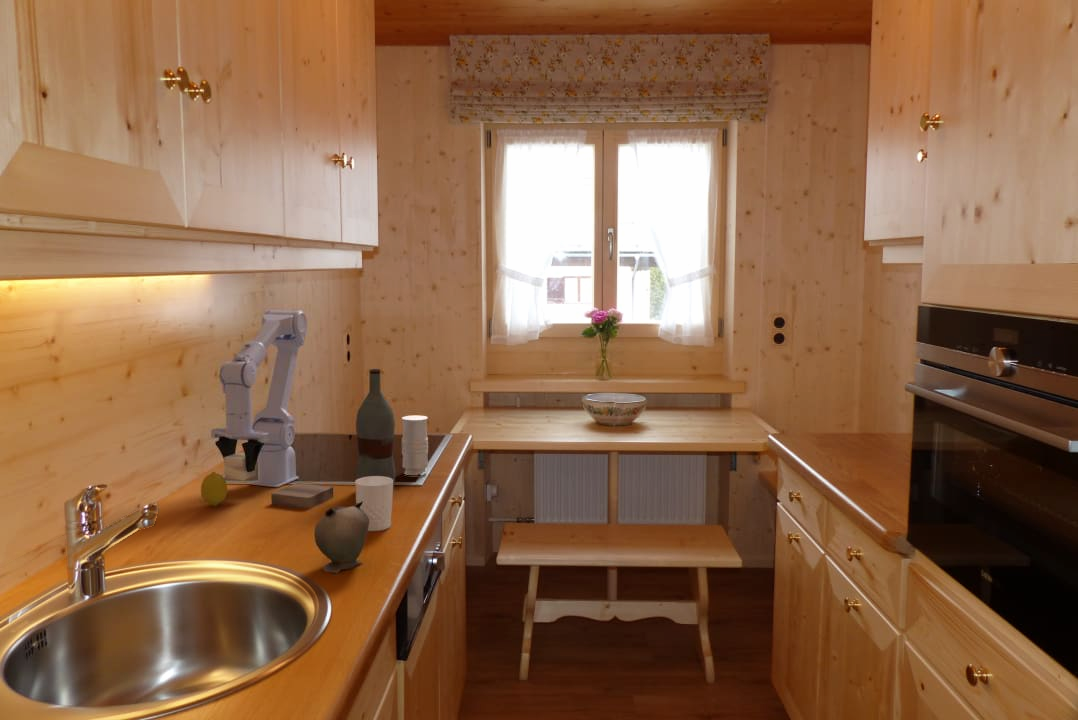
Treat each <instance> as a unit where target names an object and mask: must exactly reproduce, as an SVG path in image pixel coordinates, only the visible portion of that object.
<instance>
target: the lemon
mask: <svg viewBox="0 0 1078 720" xmlns="http://www.w3.org/2000/svg"><path fill="white" fill-rule="evenodd" d="M201 482H202V483H201V486H200V493H201V497H202V499H203V501H204V502H205V503H207V504H209V505H211V506H212V507H217V506H218V504H220V503H222V502H223V501H224V500H225V499H226V496H227V494H228V485H227V481H226V479H225V477H224V476H222V475H221V474H220V473H216V472H215V471H212V472H211V473H209V474H207V475H206V476H205V477H204V478H203V480H202V481H201Z"/></svg>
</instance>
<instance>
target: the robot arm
mask: <svg viewBox="0 0 1078 720" xmlns="http://www.w3.org/2000/svg"><path fill="white" fill-rule="evenodd" d="M307 330H308V320H307V316H306V314H305V312H304V311H303V310H301V309H300V310H284V309H283V310H278V309H277V310H276V309H275V310H273V309H267V310H266V311H265V312H264V313H263V315H262V316H261V327H260V329H258V332H257V333H256V335H255V337H254V339H252V340H249V341H246V342H245V343H244V345H242V347H241V348H240V349H239V351H237V353H236V354H235V356H234V357H233V358H232V359H231V360H228V361H226V362H225V363H222V365H221V367H220V369H219V374H218V379H219V382H220V384H221V386H222V387H221V388H222V392H223V394H224V395H225V396H224V398H225V428H213V429H211V430H210V438H212V439H216V438H217V440H216V441H215V443H214V444H215V446H216V447H217V449H218V450H219V453H220V454H221V456H222V458H223V460H224V457H227V456H230V455H233V454H236V453H237V452H236V451H237V444H238V441H239V440H240V441H246V442H242V443H241V447H242V450H243V453H245V458H246V470H247V472H252V471H254V470H255V466H256V467H257V480H253V481H251V482H250V485H254V486H264V487H270V488H279V487H281V486H284V485H286V484H288V483H291V482H293V481H297V480H298V479H300V477H299V476H298V475H297V467H296V465H297V463H296V462H297V461H296V452H295V450H294V448H293V447H292V446H291V445H293V442H294V440H295V436H296V431H295V428H296V427H295V426H296V420H295V419H294V417H293V416H292V415H291V414H290V413H289V412H288V411H287V410H288V405H289V401H290V395H291V391H292V390H291V389H292V385H293V381H294V374H295V371H296V365H297V362H298V357H299V352H300V351H299V350H300V347H303V345H304V344H305V340H306V335H307ZM270 345H273V346H275V347H276V349H277V354H276V358H275V363H274V366H273V367H274V368H273V373H272V375H271V376H272V377H271V381H270V386H269V392H268V396H267V401H266V405H265V407H264V408H263V409H262V410H260V411H258V412H257V413H256V414H255V415H254V419H253V405H252V404H253V403H252V400H253V399H252V386H253V384H255V382H256V379H257V375H258V372H259V367H260V366H261V365H262V363H263V362H264V360H265V359H266V358H267V354H268V353H267V349H268V348H269V346H270Z"/></svg>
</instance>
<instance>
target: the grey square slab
mask: <svg viewBox="0 0 1078 720" xmlns="http://www.w3.org/2000/svg"><path fill="white" fill-rule="evenodd" d="M270 496H271V505H273V506H280V507H281V506H282V507H288V508H289V507H291V508H297V509H306V510H310V509H313V508H314V507H316V506H318V505H321V504H322V503H326V502H327V501H329V500H331V499H333V498H334V486H327V485H320V484H319V485H318V484H310V483H300V482H296V483H293V484H291V485H288V486H287V487H286V486H285V487H284V488H281V489H280V490H276V491H274V492H272V493H271V495H270Z"/></svg>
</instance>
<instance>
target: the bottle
mask: <svg viewBox="0 0 1078 720" xmlns="http://www.w3.org/2000/svg"><path fill="white" fill-rule="evenodd" d="M368 372H369V380H368V381H369V390H368V391H369V392H368V393H367V395H366V397H365V398H364V399H363V401H362V404H360V407H359V408H358V410H357V413H356V414H357V415H356V419H355V421H356V422H355V430H356V439H357V449H358V451H357V452H358V461H357V468H356V478H355V479H356V480H357V479H359V478H363V477H369V476H384V477H389V478H391V479H393V489H394V487H395V481H396V470H395V469H396V468H395V461H394V456H393V453H394V440H395V439H394V438H395V430H396V429H395V427H396V422H395V415H394V411H393V408H392V406H391V405H390V403H389V401H388V400H387V398H386V397H385V396H384V394H383V393H382V386H381V385H382V384H381V368H371V369H369V370H368Z"/></svg>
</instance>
